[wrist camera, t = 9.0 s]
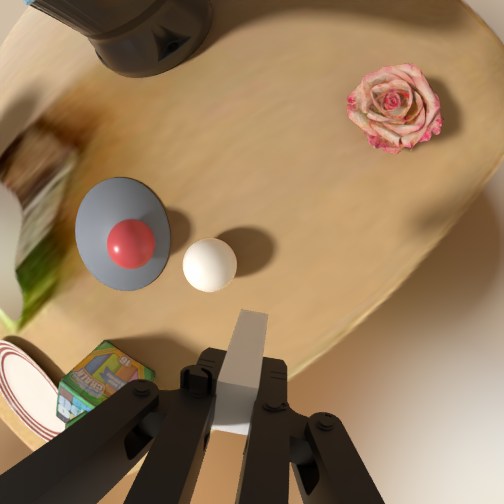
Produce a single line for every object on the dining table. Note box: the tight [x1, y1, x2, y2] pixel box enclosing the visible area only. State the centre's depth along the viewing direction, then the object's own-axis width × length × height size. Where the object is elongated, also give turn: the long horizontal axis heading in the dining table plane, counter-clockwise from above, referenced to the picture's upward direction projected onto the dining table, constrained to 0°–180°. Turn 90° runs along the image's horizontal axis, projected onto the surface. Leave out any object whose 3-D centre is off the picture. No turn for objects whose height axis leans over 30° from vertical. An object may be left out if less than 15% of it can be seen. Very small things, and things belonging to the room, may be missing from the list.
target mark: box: [75, 178, 170, 291], centre depth 33 cm, size 14×14×1 cm
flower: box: [347, 63, 444, 154], centre depth 24 cm, size 10×9×8 cm
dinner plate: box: [0, 340, 65, 442], centre depth 42 cm, size 28×27×3 cm
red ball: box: [107, 219, 155, 269], centre depth 30 cm, size 6×6×6 cm
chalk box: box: [56, 340, 155, 429], centre depth 31 cm, size 9×9×15 cm
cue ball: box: [183, 238, 237, 292], centre depth 30 cm, size 6×6×6 cm
